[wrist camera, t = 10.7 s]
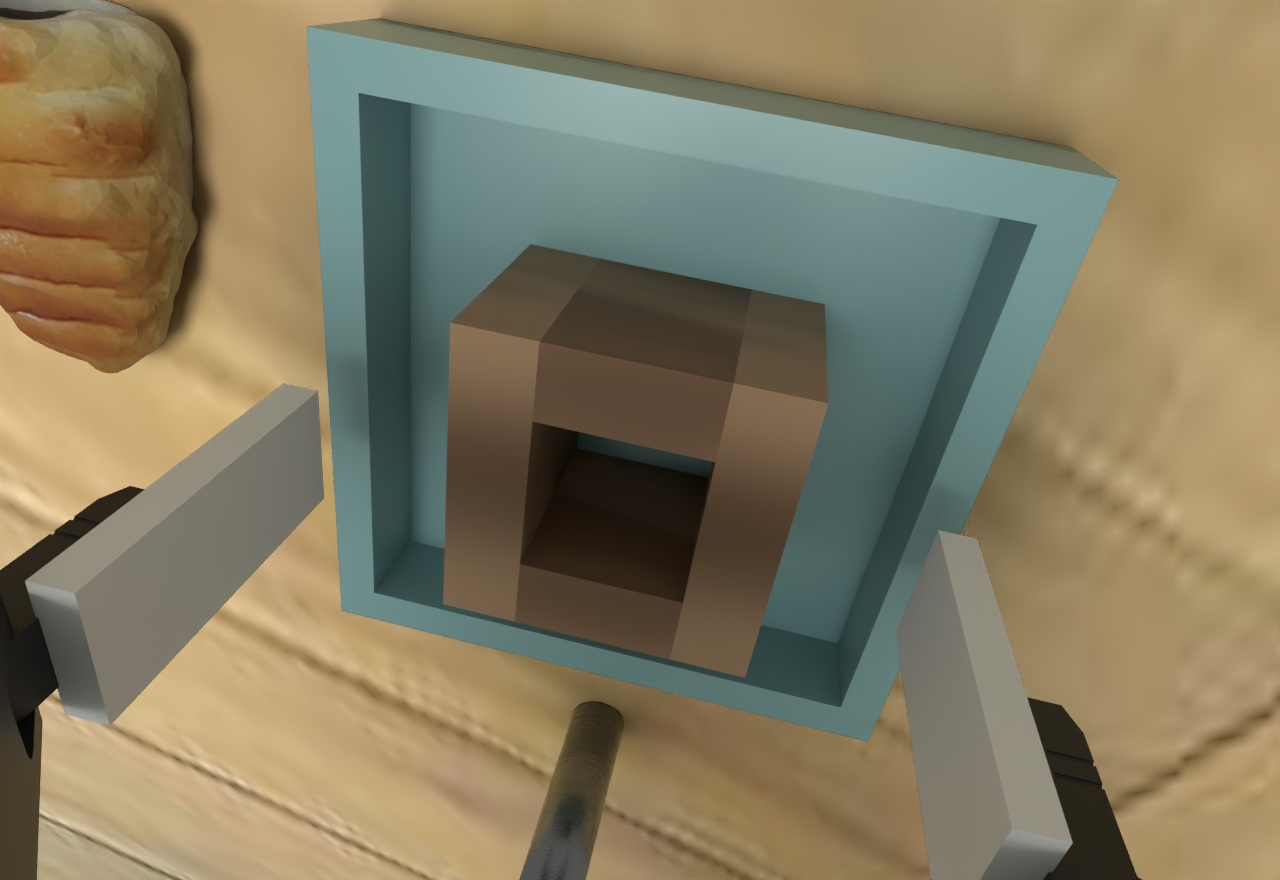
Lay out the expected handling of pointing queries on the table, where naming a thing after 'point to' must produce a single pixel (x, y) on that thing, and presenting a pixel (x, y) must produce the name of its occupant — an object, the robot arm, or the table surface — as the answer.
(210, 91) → the table surface
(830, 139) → the tray
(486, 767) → the table surface
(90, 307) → the pastry
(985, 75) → the table surface
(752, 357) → the collar
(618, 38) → the table surface
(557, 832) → the metal bolt
